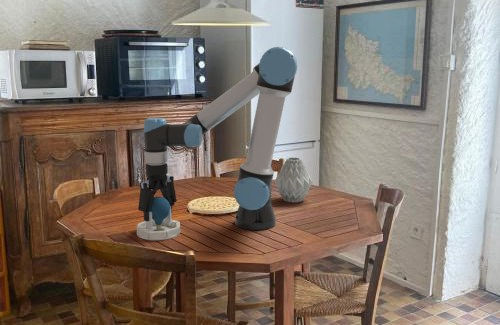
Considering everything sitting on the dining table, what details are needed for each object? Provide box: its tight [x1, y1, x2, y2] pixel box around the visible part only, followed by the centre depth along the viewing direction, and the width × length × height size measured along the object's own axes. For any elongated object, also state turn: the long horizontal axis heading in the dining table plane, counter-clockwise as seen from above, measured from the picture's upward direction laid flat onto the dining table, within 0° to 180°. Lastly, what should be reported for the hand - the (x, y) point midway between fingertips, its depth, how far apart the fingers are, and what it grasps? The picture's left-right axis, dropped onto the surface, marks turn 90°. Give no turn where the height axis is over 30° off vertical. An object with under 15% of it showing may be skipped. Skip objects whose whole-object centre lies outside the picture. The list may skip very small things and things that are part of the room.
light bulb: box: [150, 196, 170, 230], centre depth 178 cm, size 8×8×12 cm
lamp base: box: [136, 219, 181, 241], centre depth 179 cm, size 15×15×3 cm
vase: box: [274, 157, 313, 204], centre depth 220 cm, size 16×16×18 cm
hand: (158, 226), depth 179 cm, fingers closed on light bulb, 8 cm apart
